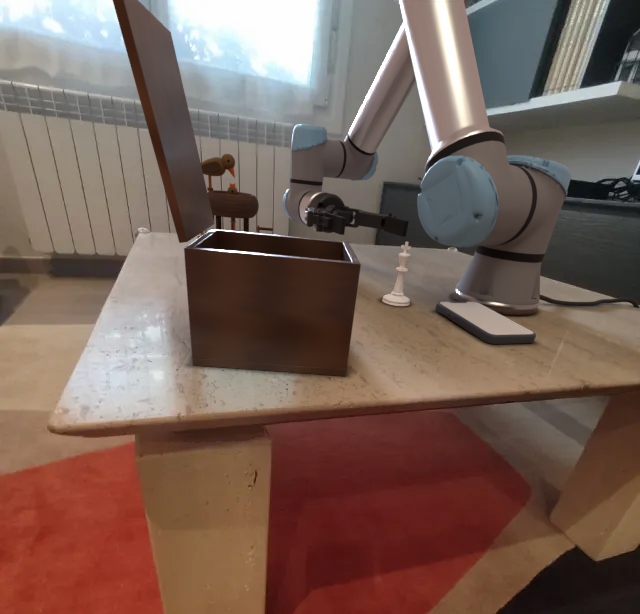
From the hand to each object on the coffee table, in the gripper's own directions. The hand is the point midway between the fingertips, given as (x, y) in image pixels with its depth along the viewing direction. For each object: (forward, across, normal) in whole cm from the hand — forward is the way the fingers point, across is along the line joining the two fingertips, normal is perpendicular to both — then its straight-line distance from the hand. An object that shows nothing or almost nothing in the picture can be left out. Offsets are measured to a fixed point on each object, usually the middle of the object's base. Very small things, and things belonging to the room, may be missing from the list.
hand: (375, 227), depth 77 cm
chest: (+25, +29, -11) cm, 40 cm away
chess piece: (+10, 0, -11) cm, 15 cm away
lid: (+21, +38, +10) cm, 44 cm away
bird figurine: (-12, +23, -11) cm, 28 cm away
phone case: (+24, -7, -11) cm, 27 cm away
